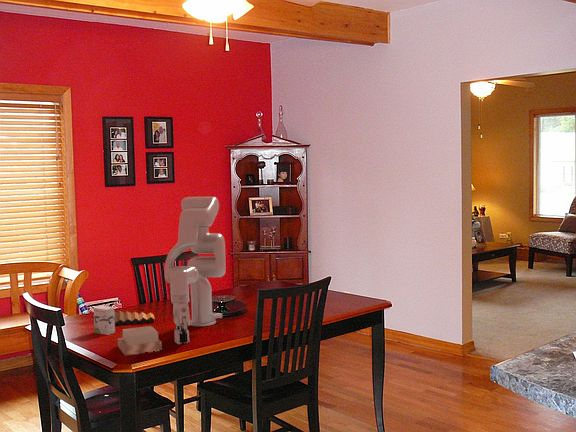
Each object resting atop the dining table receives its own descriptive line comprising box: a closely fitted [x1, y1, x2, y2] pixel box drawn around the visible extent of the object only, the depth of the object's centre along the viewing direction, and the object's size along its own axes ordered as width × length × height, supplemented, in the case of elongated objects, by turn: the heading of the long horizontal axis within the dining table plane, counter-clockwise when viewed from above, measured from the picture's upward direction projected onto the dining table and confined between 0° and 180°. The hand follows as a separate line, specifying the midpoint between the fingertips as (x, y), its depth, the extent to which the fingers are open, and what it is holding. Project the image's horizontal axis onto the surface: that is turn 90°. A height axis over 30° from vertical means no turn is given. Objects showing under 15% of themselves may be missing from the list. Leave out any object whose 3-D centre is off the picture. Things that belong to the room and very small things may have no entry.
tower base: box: [117, 337, 163, 357], centre depth 285 cm, size 15×15×4 cm
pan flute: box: [114, 310, 156, 327], centre depth 339 cm, size 25×3×25 cm
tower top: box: [122, 325, 159, 346], centre depth 285 cm, size 12×12×4 cm
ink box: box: [93, 305, 116, 336], centre depth 313 cm, size 9×5×12 cm, turn 60°
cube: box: [174, 329, 190, 345], centre depth 293 cm, size 5×5×5 cm
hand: (181, 340), depth 294 cm, fingers closed on cube, 5 cm apart
